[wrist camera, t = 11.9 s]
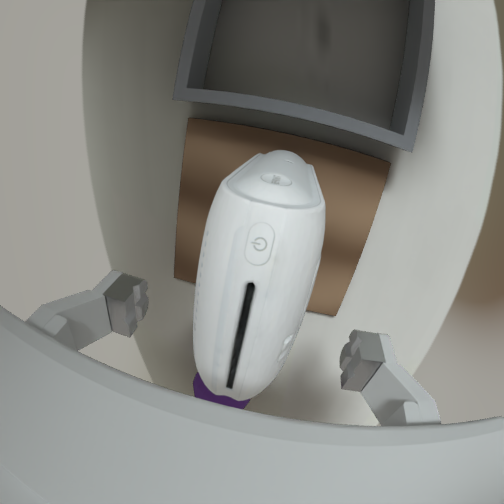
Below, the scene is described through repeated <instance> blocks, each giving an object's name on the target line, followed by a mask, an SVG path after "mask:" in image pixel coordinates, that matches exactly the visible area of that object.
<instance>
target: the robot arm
mask: <svg viewBox="0 0 504 504" xmlns="http://www.w3.org/2000/svg"><path fill="white" fill-rule="evenodd" d="M147 289H148V286H147V281H146V280H144V279H141V278H138V277H135V276H132V275H129V274H126V273H122V272H119V271H116V270H112V271H111V272H110V273H109V274H108V275H107V276H106V277H105V278H104V279H103V280H102V281H101V282H100V283H99V284H98V285H97V286H96V287H95V288H94V289H93V290H92V291H91V290H86V291H83V292H80V293H77V294H74V295H71V296H68V297H65V298H62V299H59V300H55V301H52V302H49V303H46V304H43V305H41V306H40V307H39V308H38V309H37V310H36V311H35V312H34V313H33V314H32V315H31V316H30V317H29V318H28V319H27V321H23V320H21V319H20V318H18V317H17V316H15V315H14V314H12V313H11V312H9V311H8V310H6V309H5V308H3V307H2V306H1V305H0V504H504V417H501V416H499V417H492V418H487V419H481V420H475V421H468V422H460V423H451V424H441V421H440V416H439V413H438V409H437V405H436V401H435V400H434V399H433V398H432V397H431V396H430V395H429V394H428V393H427V392H426V391H425V389H424V388H423V387H422V386H421V385H420V384H419V383H418V382H417V381H416V380H415V379H414V378H413V377H412V376H411V375H410V374H409V373H408V371H407V370H406V369H405V368H404V367H403V366H402V365H400V364H398V363H397V359H396V356H395V352H394V349H393V345H392V342H391V338H390V336H389V335H388V334H381V333H373V332H366V331H360V330H355V329H354V330H353V331H352V332H351V334H350V336H349V340H350V342H348V343H347V344H345V345H344V347H343V349H342V351H341V355H340V368H341V369H342V370H343V373H342V374H341V389H344V390H351V391H359V392H361V394H362V396H363V397H364V399H365V400H366V402H367V404H368V405H369V407H370V408H371V410H372V411H373V413H374V415H375V416H376V418H377V419H378V421H379V423H380V424H381V426H359V425H344V424H332V423H322V422H313V421H305V420H298V419H291V418H284V417H278V416H273V415H267V414H262V413H257V412H252V411H247V410H243V409H238V408H234V407H230V406H226V405H222V404H218V403H214V402H210V401H207V400H203V399H200V398H196V397H193V396H189V395H186V394H183V393H180V392H177V391H174V390H171V389H168V388H165V387H162V386H159V385H156V384H153V383H150V382H148V381H145V380H142V379H140V378H137V377H135V376H132V375H130V374H127V373H125V372H122V371H120V370H117V369H115V368H113V367H110V366H108V365H106V364H104V363H101V362H99V361H97V360H95V359H93V358H91V357H88V356H86V355H84V354H82V353H80V352H78V350H80V349H82V348H84V347H86V346H87V345H89V344H91V343H93V342H95V341H97V340H99V339H100V338H102V337H104V336H106V335H108V334H109V333H111V332H112V331H113V332H116V333H119V334H121V335H124V336H127V337H131V335H132V334H133V332H134V331H135V330H136V328H137V321H140V320H142V319H143V318H144V316H145V315H146V312H147V309H148V297H147V295H146V294H145V292H146V290H147Z"/></svg>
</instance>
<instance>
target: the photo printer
mask: <svg viewBox="0 0 504 504" xmlns="http://www.w3.org/2000/svg"><path fill="white" fill-rule="evenodd" d="M325 211H326V206H325V200H324V198H323V195H322V192H321V189H320V186H319V183H318V180H317V177H316V174H315V170H314V167H313V166H312V165H310V164H306V163H305V161H304V160H303V159H302V158H301V157H300V156H298V155H297V154H295V153H293V152H290V151H286V150H275V151H272V152H269V153H267V154H262V153H259V154H257V155H255V156H254V157H252V158H251V159H249V160H248V161H247V162H245V163H244V164H243V165H241V166H240V167H239V168H237V169H236V170H235V171H233V172H232V173H231V174H230V175H229V176H227V177H226V178H225V179H224V180H223V181H222V182H221V184H220V186H219V188H218V190H217V192H216V195H215V197H214V200H213V203H212V205H211V208H210V211H209V214H208V218H207V222H206V226H205V231H204V236H203V241H202V246H201V252H200V258H199V264H198V271H197V279H196V288H195V298H194V312H193V350H194V358H195V363H196V367H197V370H198V372H199V375H200V377H201V379H202V380H203V382H204V384H205V385H206V387H207V388H208V389H209V390H210V391H211V392H212V393H214V394H215V395H225V396H229V397H231V398H233V399H235V400H237V401H243V400H247V399H250V398H252V397H254V396H256V395H257V394H259V393H260V392H262V391H263V390H264V389H265V388H266V387H267V386H268V385H269V384H270V383H271V382H272V381H273V380H274V379H275V378H276V376H277V375H278V373H279V371H280V370H281V368H282V366H283V364H284V362H285V360H286V358H287V356H288V354H289V352H290V350H291V347H292V345H293V343H294V340H295V338H296V335H297V333H298V331H299V328H300V325H301V323H302V320H303V317H304V314H305V311H306V309H307V306H308V303H309V300H310V297H311V293H312V290H313V287H314V283H315V279H316V276H317V272H318V268H319V264H320V259H321V250H322V246H323V241H324V232H325Z"/></svg>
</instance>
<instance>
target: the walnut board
mask: <svg viewBox="0 0 504 504" xmlns="http://www.w3.org/2000/svg"><path fill="white" fill-rule="evenodd" d="M275 150H286V151H290V152H293V153H295V154H297V155H298V156H300V157H301V158H302V159H303V160H304V161H305V163H306V164H310V165H312V166H313V167H314V170H315V174H316V177H317V180H318V183H319V186H320V189H321V192H322V195H323V198H324V200H325V206H326V211H325V232H324V241H323V246H322V250H321V259H320V264H319V268H318V272H317V276H316V279H315V283H314V287H313V290H312V293H311V297H310V300H309V303H308V306H307V309H306V310H309V311H314V312H318V313H323V314H328V315H333V316H336V314H337V312H338V310H339V308H340V305H341V303H342V301H343V298H344V296H345V294H346V291H347V289H348V286H349V284H350V282H351V279H352V277H353V274H354V272H355V269H356V267H357V264H358V261H359V259H360V256H361V254H362V251H363V248H364V246H365V243H366V240H367V237H368V234H369V232H370V229H371V226H372V223H373V220H374V217H375V214H376V211H377V208H378V205H379V202H380V199H381V195H382V192H383V189H384V186H385V182H386V179H387V175H388V172H389V168H390V165H391V163H389V162H387V161H384V160H381V159H378V158H375V157H372V156H369V155H366V154H363V153H359V152H356V151H353V150H349V149H346V148H343V147H339V146H335V145H332V144H328V143H324V142H320V141H317V140H313V139H308V138H304V137H300V136H296V135H291V134H287V133H282V132H277V131H272V130H267V129H262V128H257V127H251V126H245V125H239V124H233V123H226V122H219V121H212V120H204V119H196V118H188V125H187V132H186V139H185V147H184V155H183V163H182V172H181V182H180V192H179V203H178V215H177V229H176V245H175V266H174V278H177V279H181V280H185V281H188V282H192V283H196V279H197V271H198V264H199V258H200V252H201V246H202V241H203V236H204V231H205V226H206V222H207V218H208V214H209V211H210V208H211V205H212V203H213V200H214V197H215V195H216V192H217V190H218V188H219V186H220V184H221V182H222V181H223V180H224V179H225V178H226V177H227V176H229V175H230V174H231V173H232V172H233V171H235V170H236V169H237V168H239V167H240V166H241V165H243V164H244V163H245V162H247V161H248V160H249V159H251V158H252V157H254V156H255V155H257V154H259V153H262V154H267V153H269V152H272V151H275Z"/></svg>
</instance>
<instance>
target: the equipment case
mask: <svg viewBox="0 0 504 504" xmlns="http://www.w3.org/2000/svg"><path fill="white" fill-rule="evenodd" d="M221 3H222V0H194V1H193V4H192V8H191V12H190V16H189V20H188V24H187V28H186V32H185V37H184V41H183V46H182V50H181V55H180V60H179V65H178V71H177V76H176V82H175V88H174V94H173V100H180V101H189V102H200V103H209V104H218V105H226V106H233V107H240V108H247V109H253V110H259V111H264V112H270V113H275V114H280V115H285V116H290V117H294V118H299V119H303V120H307V121H311V122H316V123H320V124H323V125H327V126H331V127H335V128H338V129H342V130H345V131H349V132H352V133H355V134H359V135H362V136H365V137H368V138H371V139H374V140H377V141H380V142H383V143H386V144H389V145H391V146H394V147H397V148H400V149H403V150H406V151H409V152H412V151H413V147H414V143H415V139H416V135H417V131H418V126H419V122H420V117H421V112H422V108H423V102H424V97H425V92H426V86H427V80H428V73H429V66H430V59H431V50H432V40H433V29H434V11H435V0H410V4H409V16H408V26H407V35H406V43H405V51H404V58H403V64H402V70H401V76H400V82H399V87H398V93H397V98H396V103H395V108H394V112H393V117H392V121H391V126H390V130H387V129H384V128H381V127H379V126H376V125H373V124H370V123H367V122H364V121H360V120H357V119H354V118H351V117H347V116H344V115H340V114H337V113H333V112H329V111H326V110H322V109H318V108H314V107H310V106H305V105H301V104H296V103H292V102H287V101H282V100H277V99H271V98H266V97H260V96H254V95H247V94H240V93H233V92H224V91H215V90H205V89H203V87H204V81H205V76H206V71H207V65H208V60H209V55H210V51H211V46H212V41H213V37H214V32H215V28H216V24H217V20H218V15H219V11H220V7H221Z"/></svg>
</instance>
